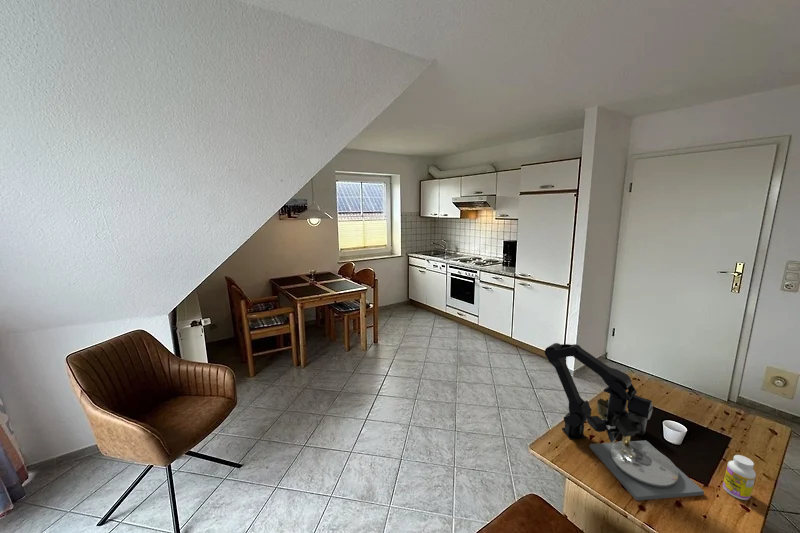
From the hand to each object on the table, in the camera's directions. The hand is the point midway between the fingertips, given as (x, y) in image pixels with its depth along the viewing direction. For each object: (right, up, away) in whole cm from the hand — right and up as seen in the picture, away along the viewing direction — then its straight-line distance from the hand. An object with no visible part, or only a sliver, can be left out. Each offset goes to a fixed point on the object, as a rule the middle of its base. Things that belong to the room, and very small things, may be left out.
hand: (611, 441), depth 129 cm
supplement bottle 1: (+19, -2, +14) cm, 24 cm away
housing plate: (+7, -7, -7) cm, 11 cm away
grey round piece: (+7, -5, -7) cm, 11 cm away
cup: (+10, -1, +21) cm, 23 cm away
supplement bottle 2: (+31, -9, -16) cm, 37 cm away
